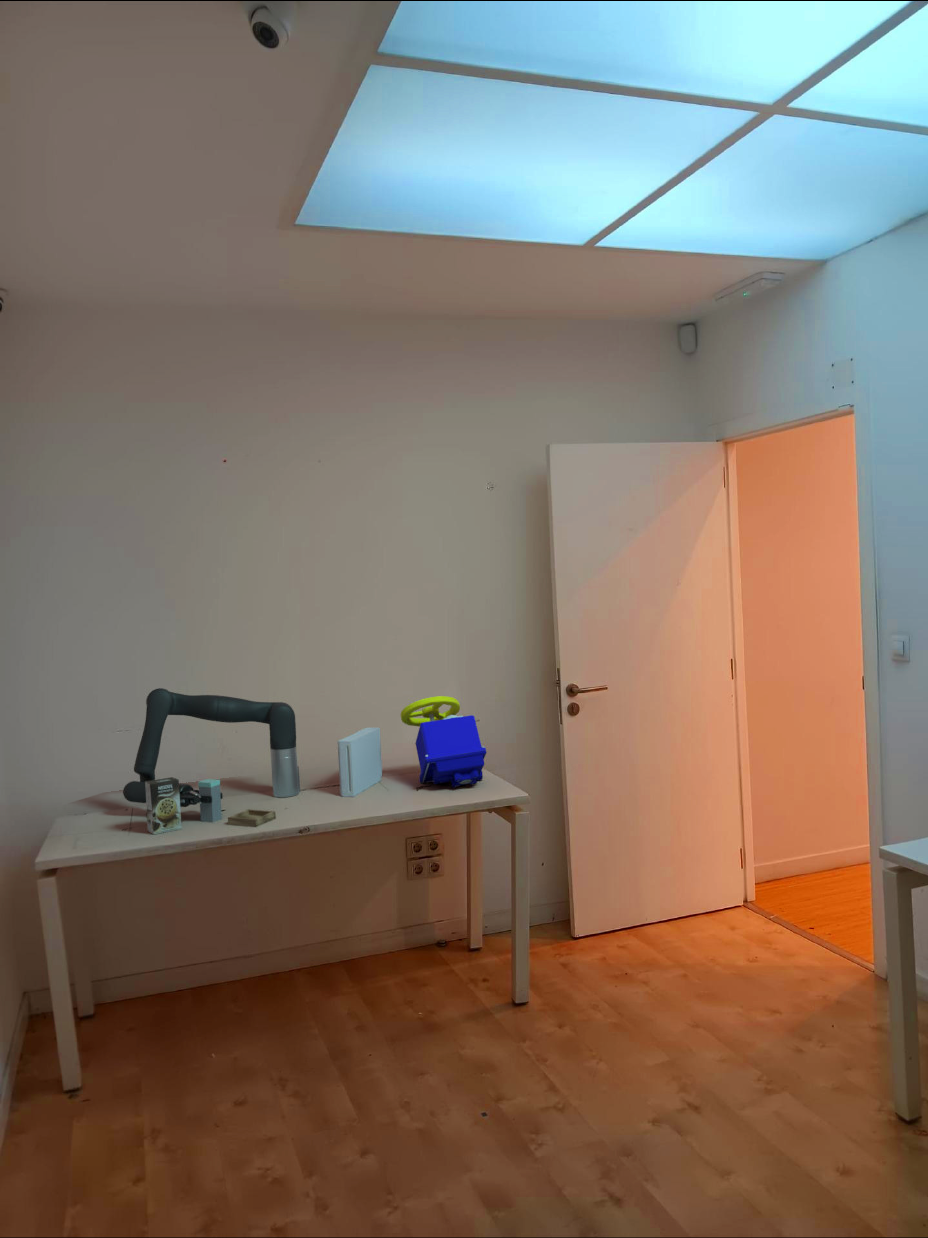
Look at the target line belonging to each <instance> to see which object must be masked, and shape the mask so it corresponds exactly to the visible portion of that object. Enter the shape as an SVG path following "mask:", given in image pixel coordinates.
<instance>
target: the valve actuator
mask: <svg viewBox="0 0 928 1238" xmlns="http://www.w3.org/2000/svg"><path fill="white" fill-rule="evenodd" d="M443 705H447V706H450V708H449V709H448V710H446V711H445V712H440V709H439V708H441V707H442V706H443ZM418 710H419V711H418ZM460 710H461V705H460V701H458V700H457V699H456V698H454V697H452V696H445V695H439V696H437V695H436V696H431V697H426V698H423V699H419V700H416V701H414V702H412V703H410V704H408V705H407V706H405V707H404V708H403V709H402V710H401V713H400V720H401V721H402V723H403V724H405V725H407V726H412V727H419V728H418V731H417V732H418V733H417V736H416V739H415V746H416V747H415V748H416V753H417V758H418V763H419V767H420V775H419V777H418V778H419V779H418V780H419V783H420V784H425V783H429V782H430V781H431V782H433V784H434V785H437V784H439V785H440V784H445V783H449V782H450V783H451V787H452V788H453V789H454V788H457V787H459V786H465V785H475V784H477V781H483V778H484V777H483V776H484V775H483V768H484V766H485V757H486V756H487V753H488V752H487V749H486V747H485V746H484V745H482V743H481V739H480V734H479V730H478V726H477V723H476V719H475V718H476V717H475V716H474V715H472V714H470V715H467V716H465V715H464V716H463V715H461V714H460V715H459V716H458V715H457V714H458V713H459V712H460ZM421 716H422V717H423V718H422V717H421ZM424 782H425V783H424Z"/></svg>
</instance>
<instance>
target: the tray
mask: <svg viewBox="0 0 928 1238" xmlns="http://www.w3.org/2000/svg"><path fill="white" fill-rule="evenodd" d="M276 815H277V814H276V811H272V810H259V809H246V810H243V811H241V812H238V813H236V814H233V815H231V816H228V817H227V826H228V825H229V826H238V827H239V826H240V827H248V826H250V828H257V826H258V827H260V826H262V825H265V824H266V823H268V821H269V822H271V821H274V820H276V819H277V818H276V817H277V816H276ZM273 819H274V820H273ZM259 825H260V826H259Z"/></svg>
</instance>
